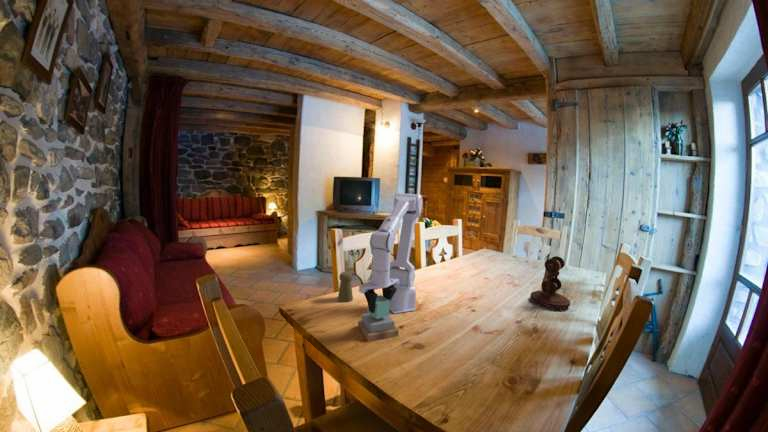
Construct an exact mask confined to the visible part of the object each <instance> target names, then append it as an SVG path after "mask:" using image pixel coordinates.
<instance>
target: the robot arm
mask: <svg viewBox="0 0 768 432" xmlns="http://www.w3.org/2000/svg"><path fill="white" fill-rule="evenodd" d="M423 203H424V201H423V196H422V195H421V194H420V193H416V194H414V193H404V192H402V193H401V192H396V194H395V195H394V197H393V210H392V211H391V214H390V215H388V216H386V217H385V218H384V220H383V221H382V224H381V225H380V227H379V228H378V230H375V231H373V232H372V233H371V235H370V239H369V247H370V254H371V255H372V257H371V258H372V261H371V279H370V281H368V282H366V283H363V284H359V285H358V288H359V289H358V292H360V293H361V294H363V295H364V297H365V299H366V302H367V308H368V307H369V311H370V312H371V313H374V311H375V303H376V299H377V296H379V294H378V293H376V291H375V290H380V289H382V290H381V291H382V296H383V297H385V298H387V299H388V300H390V309H389V311H390V312H392V313H393V314H400V313H401V314H402V313H407V312H413V311H416V309H417V308H416V296H417V292H416V288H415V287H414V284H415V278H416V273H415V272H416V271H415V270H416V268H415V266H414V265H413V264H412V263H411V261H410V256H411V250H412V244H413V237H414V231H415V225H416V221H417V219H418V218H420V217H421V216H422V211H423ZM401 220H402V223H401ZM400 229H401V230H400ZM399 231H400V234H399V235H400V236H399V242H398V248H397V253H396V259H395V260H392V261H391V255H392V250H393V249H394V246H395V242H396V238H397V237H396V235H397V234H398V232H399Z"/></svg>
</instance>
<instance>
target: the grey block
mask: <svg viewBox="0 0 768 432" xmlns="http://www.w3.org/2000/svg"><path fill="white" fill-rule="evenodd" d="M361 320H362V322H363V324H364V325H365V326H366V328H367V329H368V330H369V332H370V333H374V332H380V331H385V330H391V329H394V326H395V320H394V319H392V317H390V315H388V316H385V317H382V318H378V319H376V318H374V317H373V316H371V315H370V314H369V313H368V312H367V313H366V312H365V313H362V314H361Z"/></svg>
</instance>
